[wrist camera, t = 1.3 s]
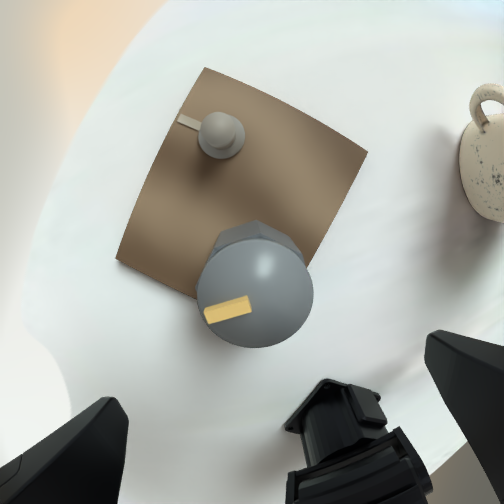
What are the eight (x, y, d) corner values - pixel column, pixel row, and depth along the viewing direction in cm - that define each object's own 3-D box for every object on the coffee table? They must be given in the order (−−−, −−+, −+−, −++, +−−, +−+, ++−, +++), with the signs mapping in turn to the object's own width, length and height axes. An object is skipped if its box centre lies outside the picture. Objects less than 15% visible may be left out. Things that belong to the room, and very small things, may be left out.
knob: (281, 211, 17) (298, 227, 12) (304, 291, 18) (326, 334, 13) (196, 239, 17) (177, 266, 12) (226, 315, 18) (220, 365, 13)
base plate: (267, 325, 19) (273, 357, 16) (119, 255, 18) (94, 273, 14) (363, 152, 17) (391, 148, 13) (206, 71, 15) (197, 46, 11)
